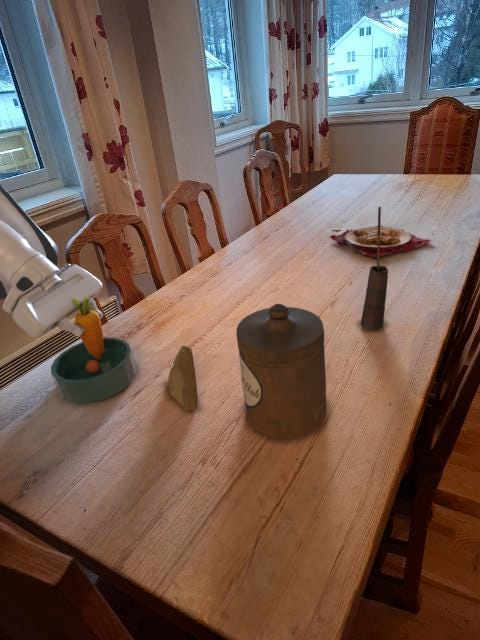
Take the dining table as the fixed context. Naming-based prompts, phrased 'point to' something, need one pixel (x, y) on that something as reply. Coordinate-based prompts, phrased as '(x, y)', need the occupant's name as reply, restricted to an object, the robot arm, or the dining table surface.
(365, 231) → the plate with food
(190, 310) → the dining table surface
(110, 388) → the bowl
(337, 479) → the dining table surface
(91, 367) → the ball
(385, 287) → the butter churn
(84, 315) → the carrot
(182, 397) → the rock
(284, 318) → the wooden container
